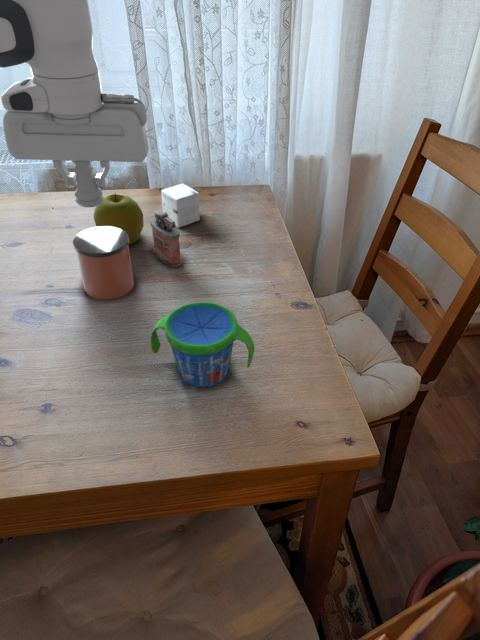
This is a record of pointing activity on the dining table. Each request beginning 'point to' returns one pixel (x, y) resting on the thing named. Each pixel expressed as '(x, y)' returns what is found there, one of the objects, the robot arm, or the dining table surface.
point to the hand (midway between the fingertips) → (87, 186)
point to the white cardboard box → (181, 204)
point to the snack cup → (202, 341)
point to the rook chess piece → (86, 185)
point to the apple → (120, 215)
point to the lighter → (166, 239)
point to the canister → (104, 262)
